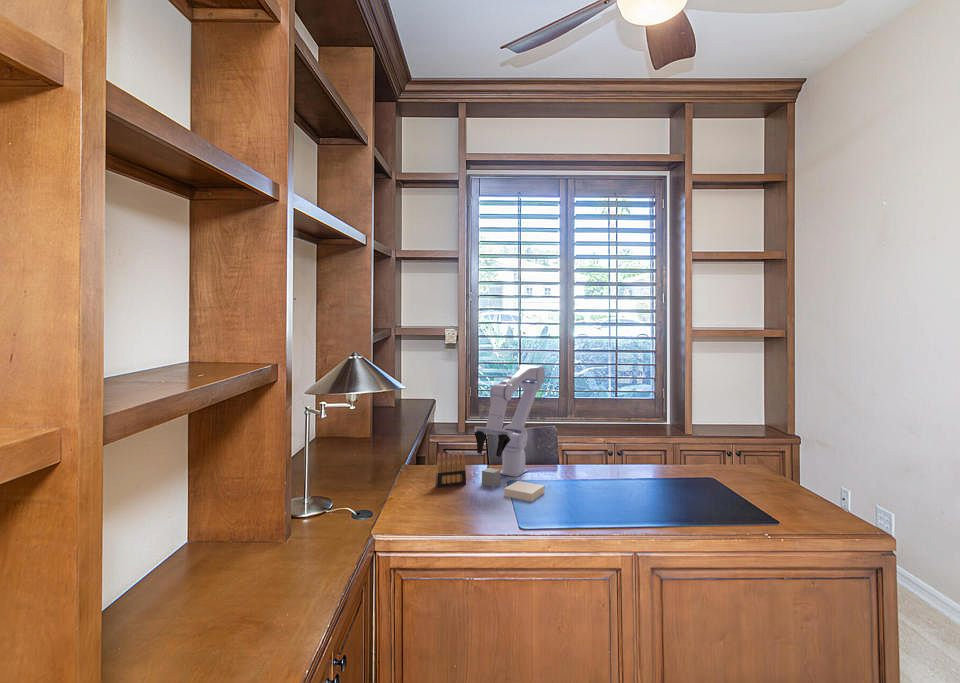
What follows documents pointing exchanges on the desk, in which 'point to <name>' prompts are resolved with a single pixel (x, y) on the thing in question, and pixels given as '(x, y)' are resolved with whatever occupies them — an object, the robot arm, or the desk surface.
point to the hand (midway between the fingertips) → (488, 454)
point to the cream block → (524, 491)
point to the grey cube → (491, 477)
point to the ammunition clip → (450, 470)
